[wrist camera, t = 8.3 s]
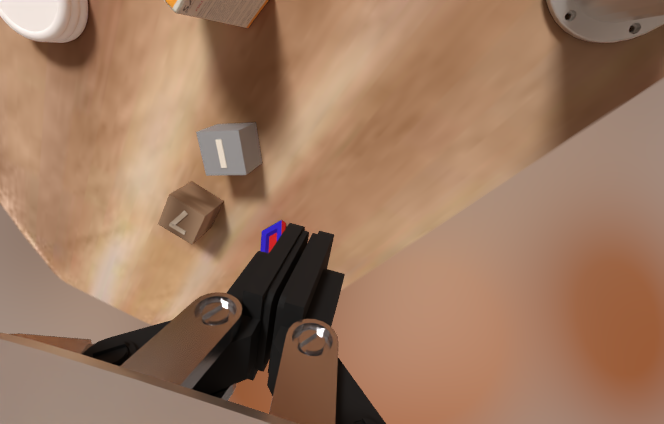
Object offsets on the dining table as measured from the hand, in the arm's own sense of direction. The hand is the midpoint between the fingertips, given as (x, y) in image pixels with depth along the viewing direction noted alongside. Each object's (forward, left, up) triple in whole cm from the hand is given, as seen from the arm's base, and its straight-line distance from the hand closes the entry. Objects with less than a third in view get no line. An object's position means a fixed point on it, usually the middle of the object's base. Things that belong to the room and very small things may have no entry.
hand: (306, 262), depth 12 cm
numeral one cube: (+15, +6, -29) cm, 33 cm away
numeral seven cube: (+20, +16, -29) cm, 38 cm away
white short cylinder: (+39, -6, -29) cm, 49 cm away
